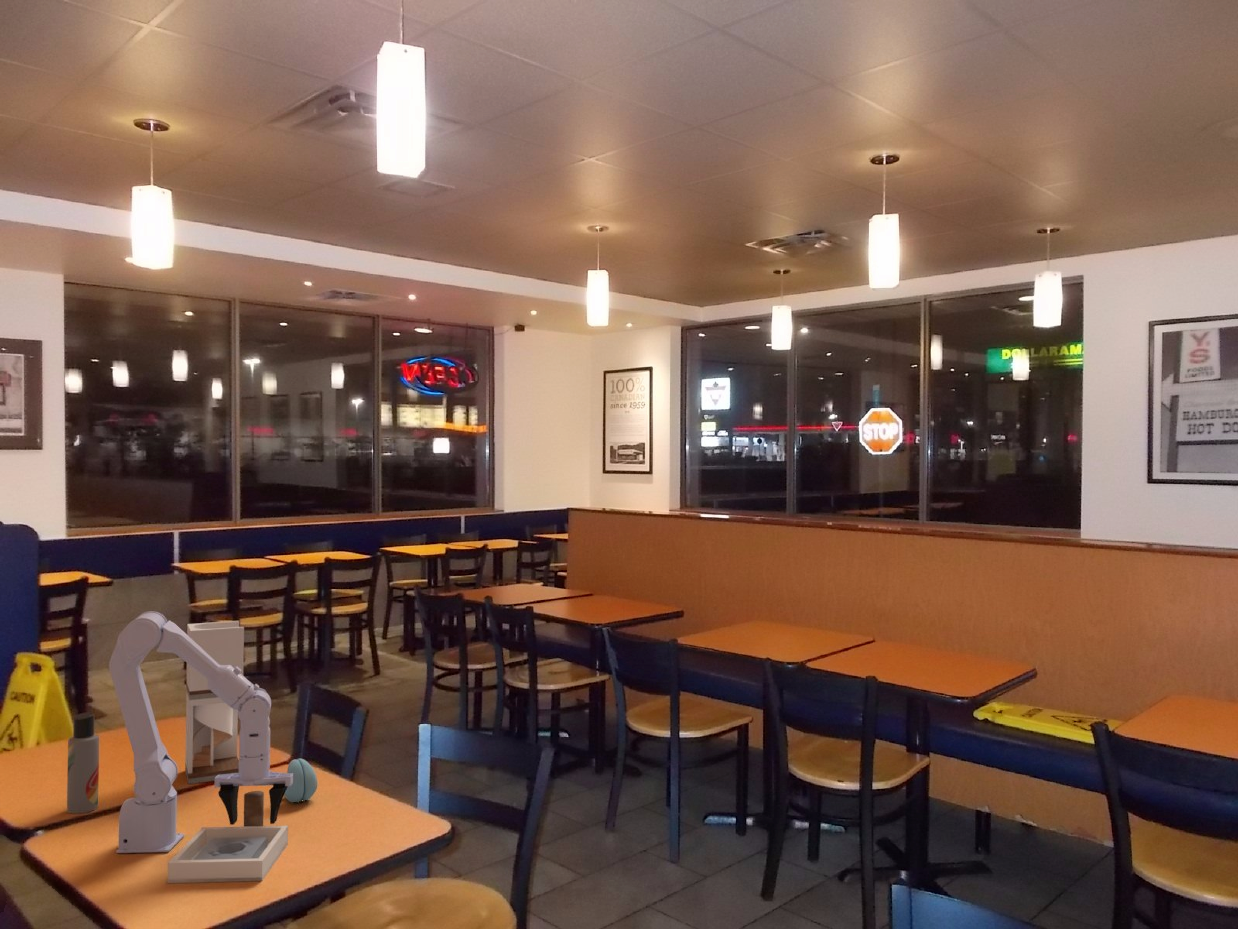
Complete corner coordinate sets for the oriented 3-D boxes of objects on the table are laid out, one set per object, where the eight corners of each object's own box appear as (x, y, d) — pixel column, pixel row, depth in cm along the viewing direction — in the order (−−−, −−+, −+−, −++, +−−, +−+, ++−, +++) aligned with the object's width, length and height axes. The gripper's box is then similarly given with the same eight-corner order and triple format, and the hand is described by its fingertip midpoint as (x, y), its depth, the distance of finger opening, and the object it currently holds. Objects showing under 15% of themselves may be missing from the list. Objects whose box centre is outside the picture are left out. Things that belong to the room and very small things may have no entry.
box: (167, 883, 158) (167, 863, 158) (202, 846, 174) (202, 827, 174) (262, 880, 160) (262, 860, 160) (287, 844, 176) (288, 825, 176)
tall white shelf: (188, 784, 209) (190, 630, 209) (185, 770, 218) (187, 624, 218) (241, 776, 214) (244, 627, 215) (236, 764, 223) (238, 620, 224)
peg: (240, 838, 178) (241, 797, 178) (247, 831, 182) (247, 791, 182) (259, 838, 178) (260, 797, 178) (265, 831, 182) (266, 790, 182)
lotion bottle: (104, 805, 195) (105, 711, 195) (86, 815, 189) (87, 718, 190) (79, 804, 196) (80, 710, 196) (60, 813, 190) (62, 717, 190)
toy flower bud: (303, 750, 208) (321, 760, 198) (303, 790, 207) (321, 802, 198) (271, 756, 203) (287, 766, 194) (271, 797, 203) (288, 809, 193)
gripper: (209, 760, 176) (208, 831, 175) (286, 759, 177) (285, 829, 177) (222, 749, 183) (221, 817, 182) (296, 748, 184) (295, 815, 184)
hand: (253, 822), depth 180 cm, fingers open, 7 cm apart
